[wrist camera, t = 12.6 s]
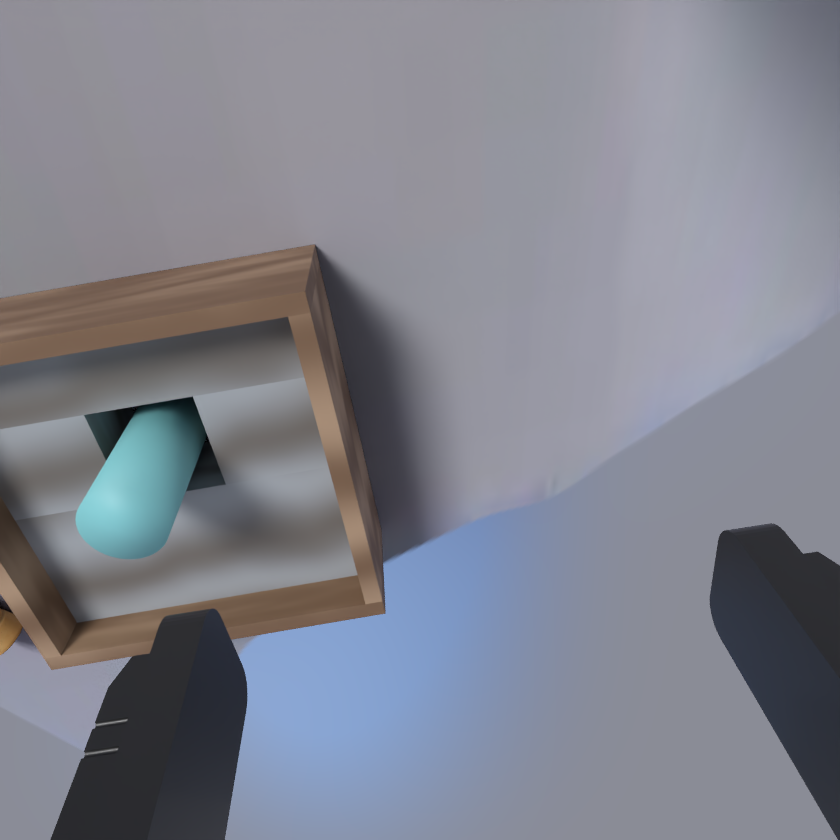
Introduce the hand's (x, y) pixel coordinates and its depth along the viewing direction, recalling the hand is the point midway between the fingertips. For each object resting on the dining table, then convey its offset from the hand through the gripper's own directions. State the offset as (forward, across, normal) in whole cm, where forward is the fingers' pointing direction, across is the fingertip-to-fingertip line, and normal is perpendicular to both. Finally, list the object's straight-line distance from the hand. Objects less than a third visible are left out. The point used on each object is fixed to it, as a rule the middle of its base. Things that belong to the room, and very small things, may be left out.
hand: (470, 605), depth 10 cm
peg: (+27, +14, +10) cm, 32 cm away
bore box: (+27, +14, +12) cm, 33 cm away
